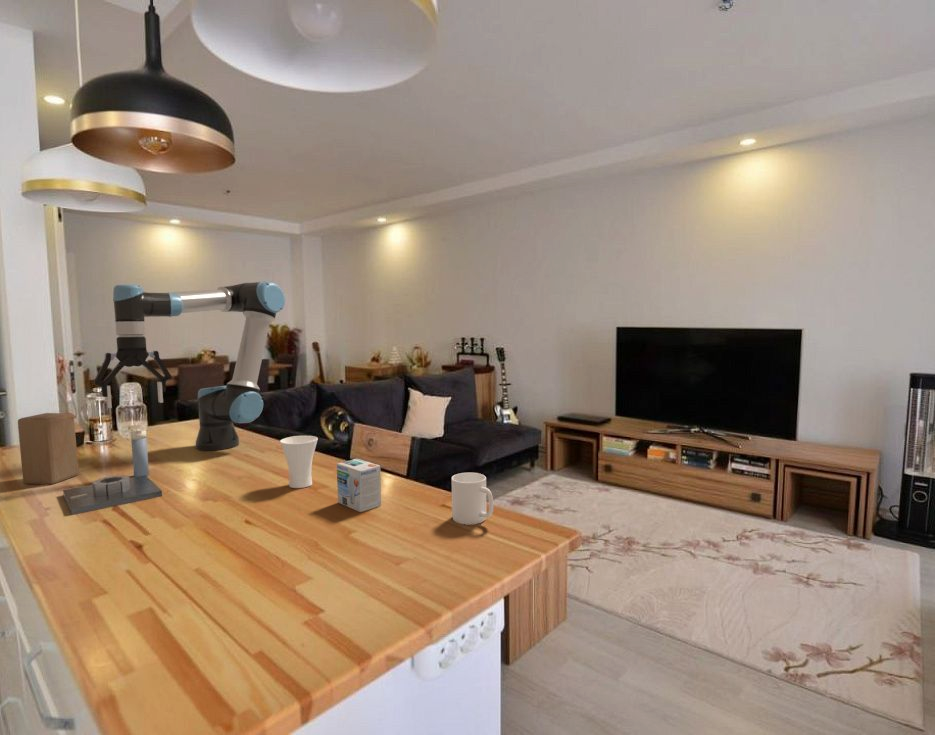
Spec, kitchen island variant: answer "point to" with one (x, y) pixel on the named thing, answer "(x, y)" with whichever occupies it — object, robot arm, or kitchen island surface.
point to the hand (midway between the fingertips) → (135, 404)
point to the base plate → (110, 493)
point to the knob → (139, 453)
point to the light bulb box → (359, 484)
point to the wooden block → (48, 448)
